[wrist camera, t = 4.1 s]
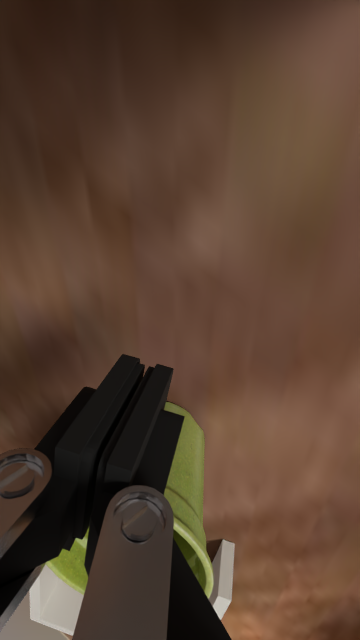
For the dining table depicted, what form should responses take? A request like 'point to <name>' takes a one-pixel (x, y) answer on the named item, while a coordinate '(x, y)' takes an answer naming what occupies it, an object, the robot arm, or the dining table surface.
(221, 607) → the box
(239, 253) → the dining table surface
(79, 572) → the plant pot
